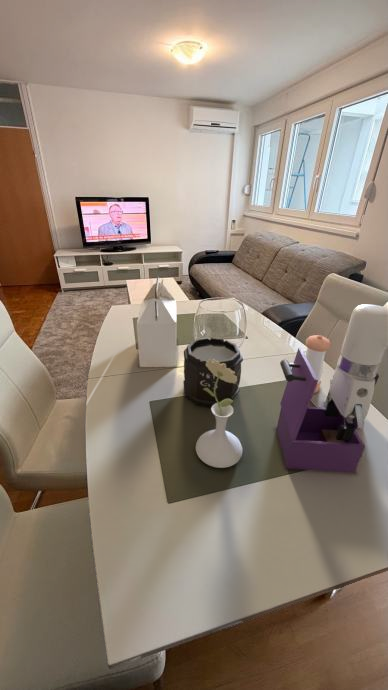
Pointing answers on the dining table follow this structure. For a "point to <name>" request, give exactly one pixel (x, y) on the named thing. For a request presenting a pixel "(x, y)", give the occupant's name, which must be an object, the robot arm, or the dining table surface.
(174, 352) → the gable box
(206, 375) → the black pot
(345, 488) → the dining table surface
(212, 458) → the flower in vase
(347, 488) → the dining table surface
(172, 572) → the dining table surface
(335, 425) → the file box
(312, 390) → the lid
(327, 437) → the block
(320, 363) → the pepper shaker
